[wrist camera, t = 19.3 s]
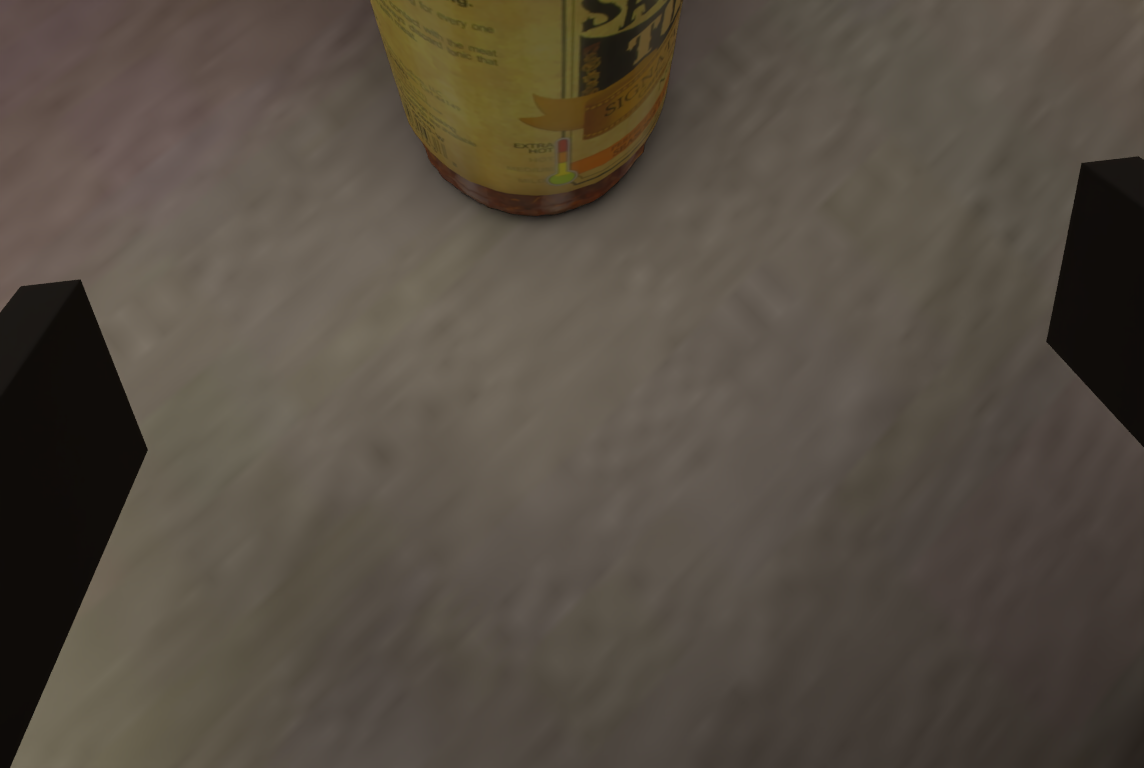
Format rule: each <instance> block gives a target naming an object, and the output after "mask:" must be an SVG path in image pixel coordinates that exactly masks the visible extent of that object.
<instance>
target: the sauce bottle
mask: <svg viewBox="0 0 1144 768" xmlns="http://www.w3.org/2000/svg"><path fill="white" fill-rule="evenodd" d="M370 2H371V5H372V8H373V11H374V15H375V18H376V21H377V24H378V28H379V31H380V34H381V37H382V40H383V44H384V47H385V50H386V53H387V57H388V60H389V63H390V66H391V70H392V73H393V76H394V79H395V82H396V85H397V88H398V91H399V95H400V98H401V101H402V104H403V107H404V110H405V113H406V116H407V119H408V122H409V124H410V126H411V127H412V129H413V131H414V132H415V134H416V135H417V136H418V138H419V139H420V140H421V141H422V143H423V145H424V147H425V149H426V152H427V155H428V158H429V160H430V162H431V163H432V164H433V165H434V167H435V168H436V169H437V170H438V171H439V173H440V174H441V176H442V177H443V178H444V179H445V180H447V181H448V182H450V183H452V184H453V185H454V186H455V187H456V188H457V189H459V190H460V191H461V192H462V193H464V194H466V195H468V196H470V197H472V198H473V199H475V200H476V201H478V202H479V203H481V204H484V205H486V206H487V207H489V208H496V209H499V210H502V211H504V212H507V213H510V214H518V215H528V216H538V215H544V214H548V215H553V214H558V213H563V212H566V211H567V210H570V209H575V208H577V207H579V206H582V205H585V204H588V203H590V202H592V201H594V200H596V199H597V198H599V197H600V196H602V195H604V194H605V193H606V192H607V191H608V190H609V189H610V188H611V187H613V186H614V185H615V184H616V183H617V182H618V181H619V180H620V178H622V177H623V176H624V174H625V173H626V172H627V171H628V170H629V168H630V167H631V166H632V165H633V163H634V162H635V160H636V159H637V158H638V157H639V156H640V155H641V154H642V153H643V152H644V145H645V142H646V140H647V138H648V137H649V135H650V133H651V132H652V130H653V129H654V127H655V124H656V122H657V120H658V118H659V115H660V113H661V110H662V107H663V104H664V100H665V96H666V92H667V87H668V81H669V75H670V68H671V62H672V57H673V52H674V47H675V41H676V34H677V29H678V24H679V18H680V13H681V7H682V2H683V0H370Z"/></svg>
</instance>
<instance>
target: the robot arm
mask: <svg viewBox="0 0 1144 768" xmlns="http://www.w3.org/2000/svg"><path fill="white" fill-rule="evenodd" d="M1047 343H1048V344H1049V345H1050V346H1051V347H1052V348H1053V349H1054V350H1055V352H1056V353H1057V354H1058V355H1059V356H1060V357H1061V358H1062V359H1063V360H1064V361H1065V362H1066V363H1067V365H1068V366H1069V367H1070V368H1071V369H1072V370H1073V371H1074V372H1075V373H1076V374H1077V375H1078V377H1079V378H1080V379H1081V380H1082V381H1083V382H1084V383H1085V384H1086V385H1087V386H1088V387H1089V388H1090V390H1091V391H1092V392H1093V393H1094V394H1095V395H1096V396H1097V397H1098V398H1099V399H1100V400H1101V401H1102V403H1103V404H1104V405H1105V406H1106V407H1107V408H1108V409H1109V410H1110V411H1111V412H1112V413H1113V414H1114V416H1115V417H1116V418H1117V419H1118V420H1119V421H1120V422H1121V423H1122V424H1123V425H1124V426H1125V428H1126V429H1127V430H1128V431H1129V432H1130V433H1131V434H1132V435H1133V436H1134V437H1135V438H1136V439H1137V441H1138V442H1139V443H1140V444H1141V445H1142V446H1143V447H1144V160H1143V159H1142V158H1140V157H1139V156H1138V157H1130V158H1121V159H1112V160H1104V161H1095V162H1087V163H1081V169H1080V174H1079V179H1078V184H1077V189H1076V194H1075V199H1074V204H1073V209H1072V214H1071V219H1070V225H1069V230H1068V235H1067V240H1066V245H1065V250H1064V255H1063V260H1062V265H1061V270H1060V276H1059V281H1058V286H1057V291H1056V296H1055V301H1054V306H1053V311H1052V316H1051V321H1050V326H1049V332H1048V337H1047ZM147 451H148V449H147V447H146V444H145V442H144V439H143V436H142V434H141V431H140V429H139V426H138V424H137V421H136V419H135V416H134V414H133V411H132V409H131V406H130V404H129V401H128V399H127V396H126V393H125V391H124V388H123V386H122V383H121V381H120V378H119V376H118V373H117V371H116V368H115V366H114V363H113V361H112V358H111V355H110V353H109V350H108V348H107V345H106V343H105V340H104V338H103V335H102V333H101V330H100V328H99V325H98V323H97V320H96V317H95V315H94V312H93V310H92V307H91V305H90V302H89V300H88V297H87V295H86V292H85V290H84V287H83V285H82V282H81V279H80V280H72V281H63V282H55V283H46V284H37V285H29V286H21V287H20V288H19V289H18V290H17V292H16V293H15V294H14V296H13V297H12V298H11V299H10V301H9V302H8V303H7V305H6V306H5V307H4V308H3V310H2V311H1V312H0V768H10V766H11V764H12V762H13V759H14V757H15V755H16V753H17V750H18V748H19V746H20V743H21V741H22V739H23V736H24V734H25V732H26V729H27V727H28V725H29V723H30V720H31V718H32V716H33V713H34V711H35V709H36V706H37V704H38V702H39V700H40V697H41V695H42V693H43V690H44V688H45V686H46V683H47V681H48V679H49V676H50V674H51V672H52V670H53V667H54V665H55V663H56V660H57V658H58V656H59V653H60V651H61V649H62V646H63V644H64V642H65V640H66V637H67V635H68V633H69V630H70V628H71V626H72V623H73V621H74V619H75V617H76V614H77V612H78V610H79V607H80V605H81V603H82V600H83V598H84V596H85V593H86V591H87V589H88V587H89V584H90V582H91V580H92V577H93V575H94V573H95V570H96V568H97V566H98V563H99V561H100V559H101V557H102V554H103V552H104V550H105V547H106V545H107V543H108V540H109V538H110V536H111V534H112V531H113V529H114V527H115V524H116V522H117V520H118V517H119V515H120V513H121V510H122V508H123V506H124V504H125V501H126V499H127V497H128V494H129V492H130V490H131V487H132V485H133V483H134V481H135V478H136V476H137V474H138V471H139V469H140V467H141V464H142V462H143V460H144V457H145V455H146V453H147Z"/></svg>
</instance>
